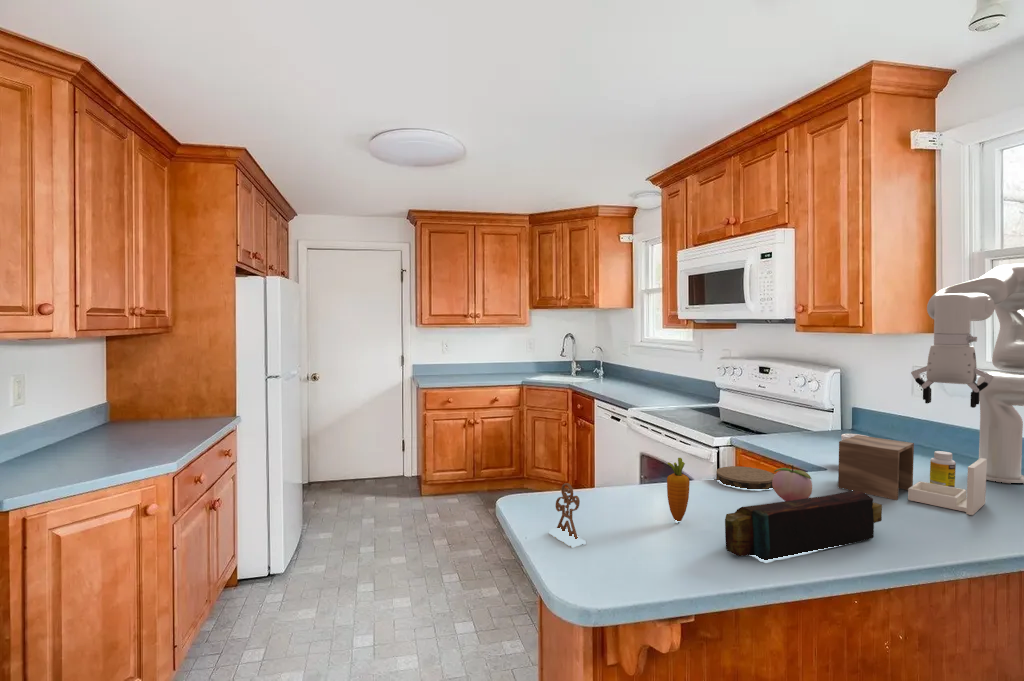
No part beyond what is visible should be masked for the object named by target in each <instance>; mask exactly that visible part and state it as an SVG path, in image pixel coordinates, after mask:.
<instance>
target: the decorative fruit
mask: <svg viewBox="0 0 1024 681" xmlns="http://www.w3.org/2000/svg"><path fill="white" fill-rule="evenodd" d="M773 473H774V478H773V481H772V486H773V489H772V490H773V491H774V493H775V494H776V495H777V496H778V497H779V498H781V499H782V500H784V501H791V500H798V499H804V498H811V495H812V492H813V481H812V477H811V475H810V474H809V473H808V472H806V471H804V470H799V469H794V465H791V468H788V467H780V468H777V469H775V470H774V471H773Z"/></svg>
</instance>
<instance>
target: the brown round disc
mask: <svg viewBox="0 0 1024 681" xmlns="http://www.w3.org/2000/svg"><path fill="white" fill-rule="evenodd" d="M715 471H716V475H715V476H716V480H720V481H721V482H722V483H723V484H726V485H731V486H735V487H740V488H747V489H769V488H773V486H772V481H773V478H774V475H775V473H774V472H771V471H767V470H765V469H761V468H756V467H751V466H742V465H741V466H734V465H732V466H730V465H729V466H723V467H719V468H717V469H716V470H715Z"/></svg>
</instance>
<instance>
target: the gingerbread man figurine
mask: <svg viewBox="0 0 1024 681" xmlns="http://www.w3.org/2000/svg"><path fill="white" fill-rule="evenodd" d="M566 486H567V487H568V488H567V487H566ZM565 487H566V488H565ZM568 494H569V495H568ZM561 499H562V500H563V504H561V503H560V501H561ZM580 502H581V501H580V497H579V495H574V489H573V486H572V484H570V483H566V482H565V483H562V484H561V496H559V497H558V498H557V499H556V500H555V509H556V511H557V512H559V513H560V512H561V517H560V519H559V521H558V524H557V526H556V528H560V527H561V529H562V531H565V529H568V532H569V536H572V534H574V537H575V539H577V538H578V537H577V535H578V534H577V530H576V527H575V524H574V520H573V512H575V511H577V510H578V509H579V507H580ZM572 503H573V504H574V505H575V507H574V508H570V505H571V504H572ZM565 504H566V505H565ZM564 518H567V519H566V520H565V522H564V525H563V521H564Z"/></svg>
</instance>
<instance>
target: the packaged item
mask: <svg viewBox="0 0 1024 681" xmlns="http://www.w3.org/2000/svg"><path fill="white" fill-rule="evenodd" d="M882 512H883V504H880V503H877V502H875V501H874V499H873V498H872V496H870V494H865V493H863V492H860V491H851V490H847V491H842V492H837V493H833V494H828V495H822V496H814V497H809V498H804V499H798V500H791V501H785V500H784V501H778V502H772V503H771V502H770V503H765V504H764V503H763V504H756V505H755V504H754V505H747V506H741V507H739V508H737V509H736V510H735V512H731V513H726V515H725V519H724V528H725V529H724V530H725V531H724V537H725V538H724V539H725V550H726V551H727V552H729V553H731V554H733V555H734V556H735V557H746V555H747V556H749V555H756V556H758V557H759V558H761V559H764V560H768V559H773V558H778V557H783V556H788V555H794V554H798V553H802V552H808V551H813V550H818V549H824V548H828V547H834V546H839V545H844V546H846V545H845V544H848V545H850V544H849V543H852V544H856V543H860V541H861V542H865V541H868V540H871V539H873V538H874V537H875V536H874V534H875V524H876V523H879V522H882V519H883V518H882V517H883V516H882V514H883V513H882ZM855 542H856V543H855Z"/></svg>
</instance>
